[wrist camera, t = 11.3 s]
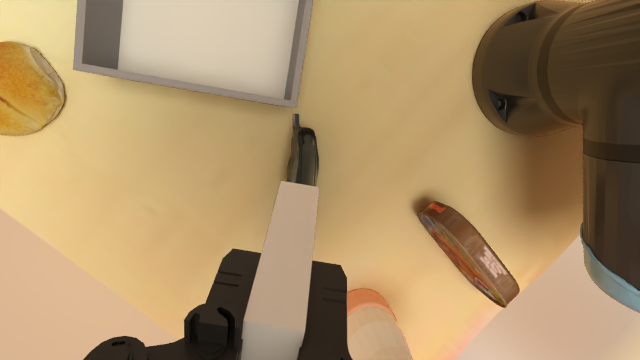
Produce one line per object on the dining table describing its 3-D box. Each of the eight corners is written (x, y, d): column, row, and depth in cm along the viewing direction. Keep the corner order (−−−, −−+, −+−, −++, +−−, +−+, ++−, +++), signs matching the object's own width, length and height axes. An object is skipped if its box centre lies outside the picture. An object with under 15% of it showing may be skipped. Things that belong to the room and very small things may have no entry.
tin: (407, 206, 48) (438, 227, 40) (427, 189, 48) (462, 207, 40) (473, 288, 52) (514, 323, 44) (491, 273, 52) (536, 304, 44)
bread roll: (-54, 80, 38) (-89, 78, 34) (27, 31, 38) (1, 23, 34) (7, 152, 40) (-20, 157, 36) (83, 105, 40) (64, 105, 36)
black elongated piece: (317, 257, 42) (321, 116, 39) (289, 258, 42) (290, 116, 39) (311, 240, 47) (313, 114, 44) (285, 241, 47) (286, 113, 43)
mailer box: (308, -28, 41) (323, -63, 32) (287, 107, 43) (296, 108, 35) (124, -72, 38) (85, -124, 29) (112, 76, 40) (73, 69, 31)
